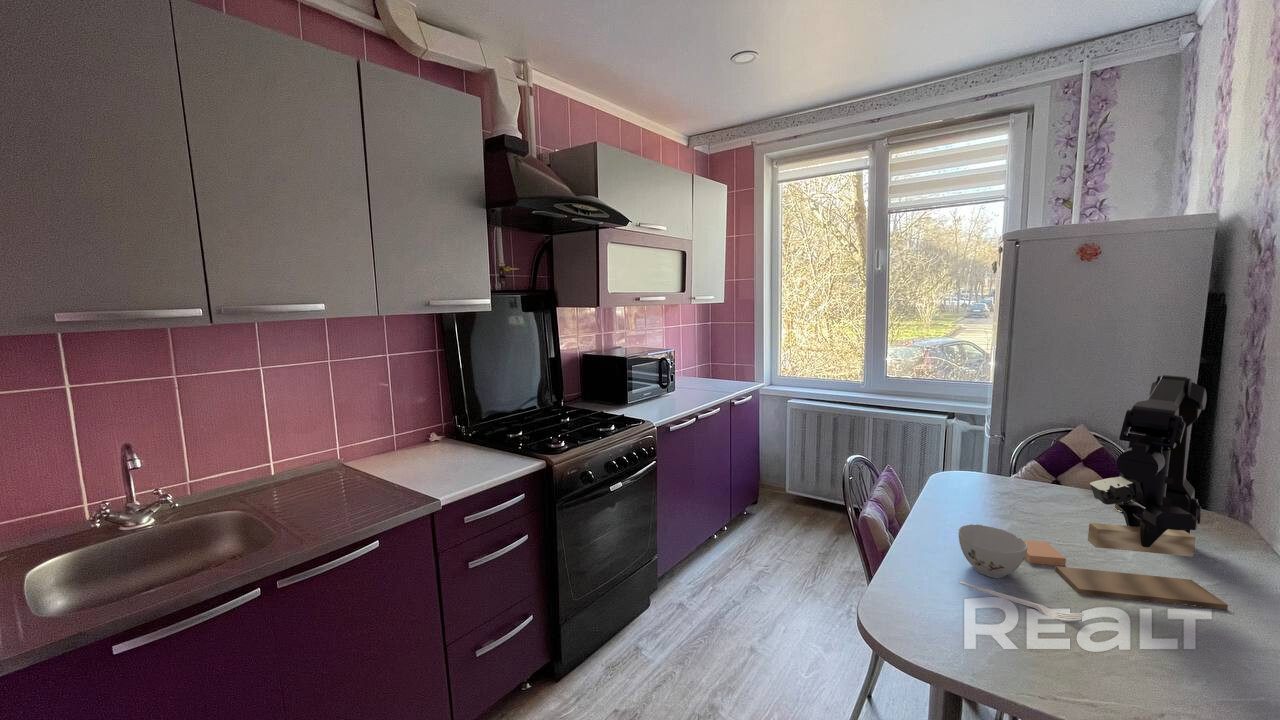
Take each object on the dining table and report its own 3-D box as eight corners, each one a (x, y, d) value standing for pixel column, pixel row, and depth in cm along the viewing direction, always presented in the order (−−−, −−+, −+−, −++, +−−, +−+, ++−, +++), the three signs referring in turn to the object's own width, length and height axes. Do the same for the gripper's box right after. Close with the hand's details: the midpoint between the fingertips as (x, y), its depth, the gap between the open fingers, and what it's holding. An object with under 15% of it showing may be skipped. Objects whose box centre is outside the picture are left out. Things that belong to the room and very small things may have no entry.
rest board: (1190, 584, 107) (1191, 579, 106) (1227, 609, 98) (1227, 604, 98) (1055, 570, 113) (1055, 566, 113) (1078, 593, 104) (1078, 588, 104)
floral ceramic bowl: (1007, 593, 104) (1010, 556, 103) (944, 566, 115) (946, 532, 114) (1041, 572, 112) (1044, 537, 111) (979, 548, 123) (981, 516, 122)
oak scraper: (1181, 549, 104) (1184, 530, 103) (1193, 556, 101) (1195, 537, 100) (1087, 540, 108) (1089, 522, 107) (1096, 547, 105) (1098, 528, 104)
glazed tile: (1046, 541, 122) (1012, 539, 124) (1065, 558, 114) (1029, 555, 116) (1045, 550, 122) (1012, 547, 124) (1065, 567, 114) (1029, 564, 116)
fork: (961, 582, 110) (961, 574, 110) (1083, 621, 96) (1084, 612, 96) (956, 588, 108) (957, 580, 108) (1081, 629, 93) (1082, 619, 93)
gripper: (1073, 452, 113) (1067, 519, 115) (1129, 482, 95) (1121, 561, 97) (1135, 455, 110) (1127, 524, 112) (1204, 487, 93) (1194, 568, 94)
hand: (1139, 543), depth 104 cm, fingers closed on oak scraper, 3 cm apart
